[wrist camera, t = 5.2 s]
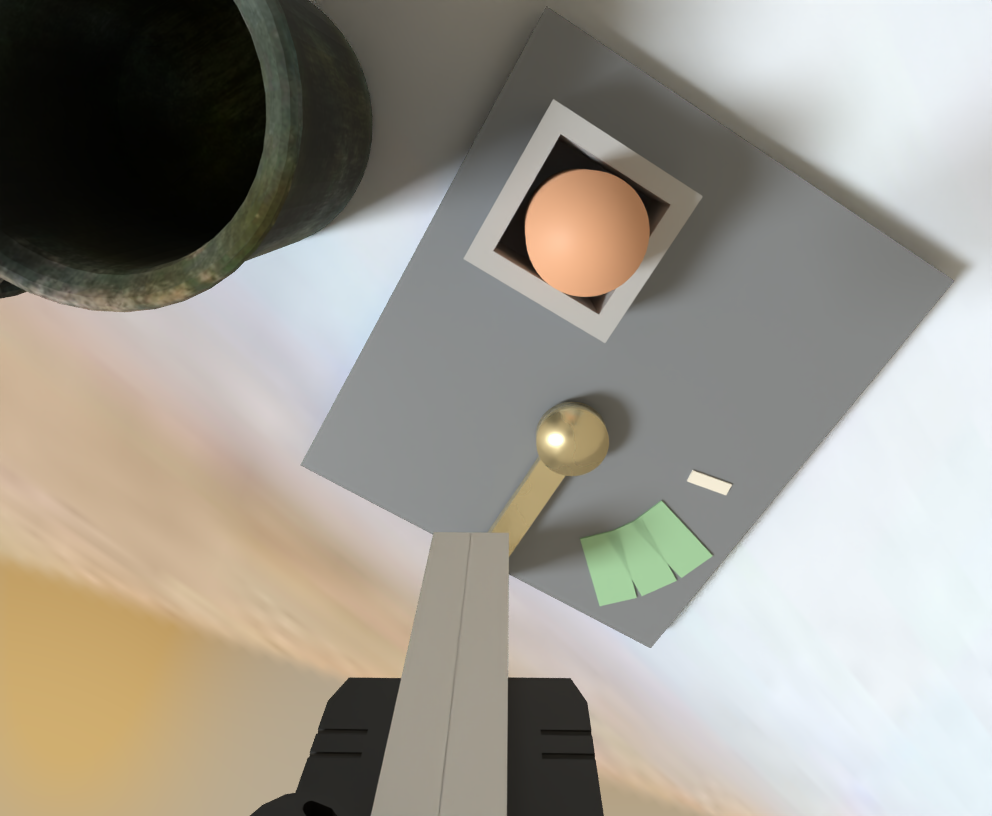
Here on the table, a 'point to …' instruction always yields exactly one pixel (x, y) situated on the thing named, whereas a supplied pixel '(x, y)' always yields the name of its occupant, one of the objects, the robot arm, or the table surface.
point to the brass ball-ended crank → (554, 463)
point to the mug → (168, 142)
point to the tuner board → (620, 341)
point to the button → (586, 231)
